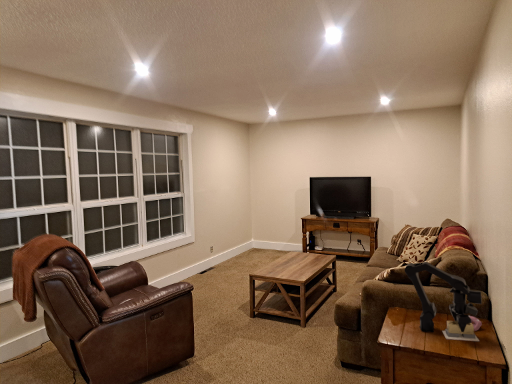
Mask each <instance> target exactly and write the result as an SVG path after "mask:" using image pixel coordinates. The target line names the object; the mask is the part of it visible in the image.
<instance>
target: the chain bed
mask: <svg viewBox="0 0 512 384" xmlns="http://www.w3.org/2000/svg"><path fill="white" fill-rule="evenodd" d="M441 332H442V334H443V335H444V337H445V339H446V340H455V341H467V342H468V341H469V342H470V341H471V342H480V339H479V338H478V336H477V335H476V333H474V335H472V334H456V333H449V332H448V330H447V328H445V330H441Z"/></svg>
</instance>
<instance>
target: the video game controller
mask: <svg viewBox="0 0 512 384" xmlns="http://www.w3.org/2000/svg"><path fill="white" fill-rule="evenodd" d="M468 316H469V317H470V318H471V323H472V324H473V326H474V332H477V331H478V330H479V329H480V327H481V326H482V325H483V324H482V321H481V320H480V319H478V317H476V316H473V315H468Z"/></svg>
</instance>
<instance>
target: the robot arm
mask: <svg viewBox="0 0 512 384" xmlns="http://www.w3.org/2000/svg"><path fill="white" fill-rule="evenodd" d="M424 271H427V272H428V273H430V274H432V275H433V276H436V277H437V278H439V279H441V280H443V281H445V282H446V283H448V284H449V286H451V287H452V288H450V290H449V293H453V300H452V303H450V304H449V305H448V308H449V311H450V313H451V316H452V317H453V321H457V322H458V325H459V327H460V330H461V332H464V330H465V327H466V325H467V324H470V323H471V318H470V317H469V316H470V314H471V315H472V316H473V317H477V315H478V312H479V310H478V309H477V307H475V306H474V305H473V304H477V305H483V303H482V301H483V300H482V299H483V298H482V291H481V290H472V289H471V288H470V286H468V284H467V282H466V279H464V278H463V277H461V276H458V275H455V274H451V273H448V272H446V271H445V270H444V269H441V268H439V267H437V266H436V265H433V264H431V263H430V262H427V261H423V262H415V263H414V262H413V263H412V262H410V263H407V265H405V268H404V273H405V275H406V276H407V277H408V279H409V280H410V281H411V282H412V284H413V287H414V289H415V291H416V294H417V296H418V298H419V300H420V303H421V309H422V312H421V314H420V316H419V329H420V331H421V332H425V333H434V330H435V323H434V321H433V319H435V317H436V314H437V307H436V306H435V303H434V302H431V301H430V300H429V298H428V295H427V292H426V291H425V289H424V286H423V284H422V281H421V279H420V277H419V273H420V272H424ZM467 302H468V303H467Z"/></svg>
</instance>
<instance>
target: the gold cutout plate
mask: <svg viewBox="0 0 512 384" xmlns="http://www.w3.org/2000/svg"><path fill="white" fill-rule="evenodd" d="M473 324H474V323H473V322H472V323H470V324H467V325H466V327H465V330H464V332H461V330H460V327H459V325H458V322H457V321H455V320H446V329H447V330H448V332H449V333H456V334H472V335H474V334H475V331H474V326H473Z"/></svg>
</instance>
